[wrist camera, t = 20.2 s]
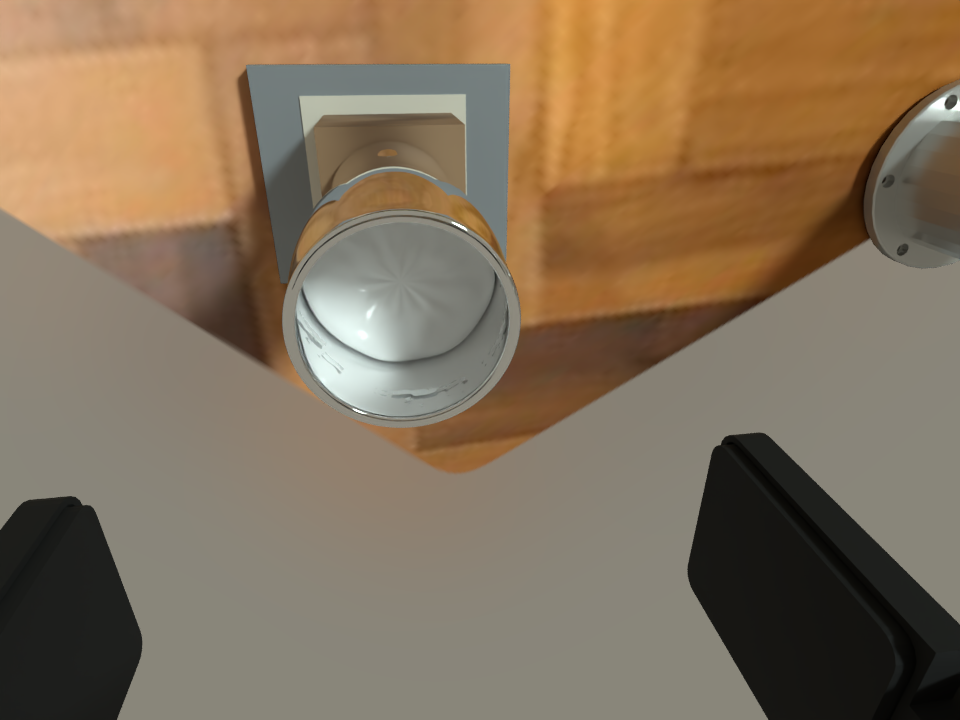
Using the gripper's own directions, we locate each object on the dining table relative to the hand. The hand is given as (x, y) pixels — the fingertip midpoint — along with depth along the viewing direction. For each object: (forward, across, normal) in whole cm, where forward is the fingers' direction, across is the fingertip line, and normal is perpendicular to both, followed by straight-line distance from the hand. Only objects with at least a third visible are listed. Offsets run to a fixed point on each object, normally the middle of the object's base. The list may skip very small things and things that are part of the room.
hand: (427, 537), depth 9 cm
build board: (+30, 0, 0) cm, 30 cm away
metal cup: (+23, 0, 0) cm, 23 cm away
